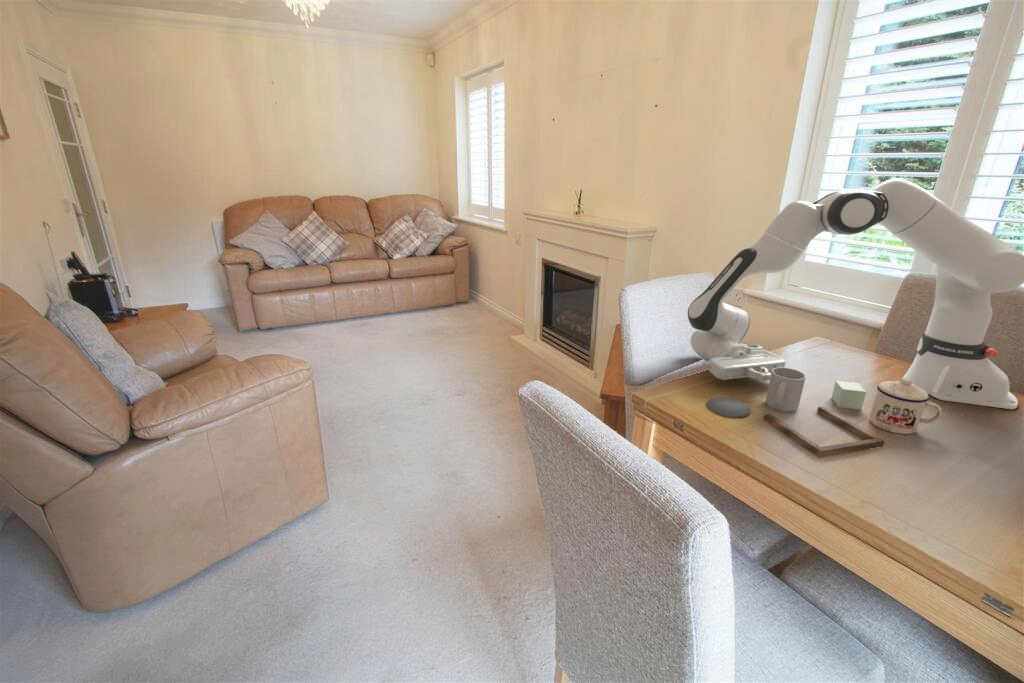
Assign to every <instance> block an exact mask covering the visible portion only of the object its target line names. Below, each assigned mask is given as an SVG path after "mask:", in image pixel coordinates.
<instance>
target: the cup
mask: <svg viewBox="0 0 1024 683" xmlns="http://www.w3.org/2000/svg"><path fill="white" fill-rule="evenodd" d="M806 377H807V376H806V374H805V373H804V372H802V371H800V370H797V369H794V368H789V367H785V368H784V367H779V368H774V369H772V373H771V378H770V380H769V383H768V389H767V394H766V398H765V402H766V403H765V404H766V405H767V406H768V407H770V408H771V409H773V410H776V411H779V412H782V413H783V412H784V413H792V412H795V411H797V410H799V407H800V403H801V399H802V394H803V390H804V386H805V382H806Z"/></svg>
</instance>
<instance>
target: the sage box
mask: <svg viewBox="0 0 1024 683" xmlns="http://www.w3.org/2000/svg"><path fill="white" fill-rule="evenodd" d="M834 382H835V383H834V386H833V390H832V394H831V397H830V398H831V400H832V399H833V400H832V401H833V403H834V404H835V405H836V407H837V408H844V409H852V410H862V408H863V405H864V402H865V398H866V394H867V391H866V390H865V388H864V387H863V386H862V385H861V384H860V383H859V382H851V381H841V380H839V381H838V380H836V381H834Z"/></svg>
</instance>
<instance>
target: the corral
mask: <svg viewBox="0 0 1024 683" xmlns="http://www.w3.org/2000/svg"><path fill="white" fill-rule="evenodd" d="M816 413H818V414H820V415H821V416H823V417H824V418H826V419H828V420H830V421H831V422H833V423H835V424H837V425H839V426H840V425H841V426H840V427H842V428H844V429H845V428H846V430H847V429H848V430H847V431H849V432H850V433H852V432H853V433H852V434H854V433H855V435H856V436H858V437H859V436H860V438H861V437H862V438H861V439H862V440H857V441H852V442H845V443H837V444H830V445H825V446H820V445H818V444H817V443H815V442H813V441H812V440H811V439H809V438H807V437H806V436H804V435H803V434H801V433H800V432H798V431H797V430H795V429H794V428H792V427H791V426H789V425H788V424H786V423H784V422H783V421H782V420H780V419H779V418H777V417H776V416H774V415H772V414H771V413H764V416H763V420H764V421H765V422H766V423H768V424H770V425H771V426H773V427H774V428H775V429H777V430H779V431H780V432H781V433H783V434H784V435H786V436H787V437H789V438H790V439H791V440H793V441H794V442H796V443H797V444H798V445H800V446H801V447H803V448H805V449H806V450H807V451H809V452H811V453H812V454H813V455H815V456H816V457H818V458H823V457H828V456H834V455H835V454H836V455H841V454H840V453H842V454H846V453H845V452H848V453H853V451H854V452H860V451H866V450H865V449H867V450H871V449H870V448H873V449H878V448H877V447H879V448H883V447H884V445H885V441H886V440H884V439H882V438H881V437H879V436H877V435H875V434H874V433H871V432H870V431H868V430H866V429H864V428H863V427H861V426H860V425H858V424H855V423H854V422H852V421H850V420H848V419H847V418H844V417H843V416H841V415H839V414H838V413H837V412H836V413H835V412H834V411H832V410H830V409H828V408H827V407H825V406H823V405H819V406H817V410H816ZM863 438H864V439H866V440H864V439H863ZM859 450H860V451H859Z"/></svg>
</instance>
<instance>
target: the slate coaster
mask: <svg viewBox="0 0 1024 683" xmlns="http://www.w3.org/2000/svg"><path fill="white" fill-rule="evenodd" d="M706 408H707V409H708V410H709V411H711V412H712V413H714V414H716V415H719V416H721V417H724V418H730V419H742V418H746V417H748V416H749V415H750V414H751V410H752V409H751V406H750V405H748V404H747V403H746V402H744V401H741V400H739V399H736V398H731V397H723V396H721V397H714V398H710V399H708V400H707V401H706Z"/></svg>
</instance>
